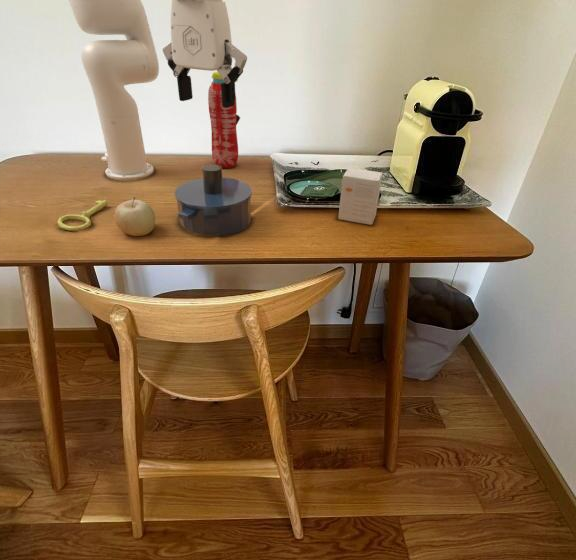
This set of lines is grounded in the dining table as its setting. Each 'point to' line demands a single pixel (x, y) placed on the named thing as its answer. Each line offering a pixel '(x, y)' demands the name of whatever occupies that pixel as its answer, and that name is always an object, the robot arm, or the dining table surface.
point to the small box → (359, 195)
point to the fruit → (135, 217)
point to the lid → (213, 190)
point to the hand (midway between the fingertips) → (207, 103)
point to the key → (82, 217)
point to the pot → (215, 219)
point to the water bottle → (222, 126)
